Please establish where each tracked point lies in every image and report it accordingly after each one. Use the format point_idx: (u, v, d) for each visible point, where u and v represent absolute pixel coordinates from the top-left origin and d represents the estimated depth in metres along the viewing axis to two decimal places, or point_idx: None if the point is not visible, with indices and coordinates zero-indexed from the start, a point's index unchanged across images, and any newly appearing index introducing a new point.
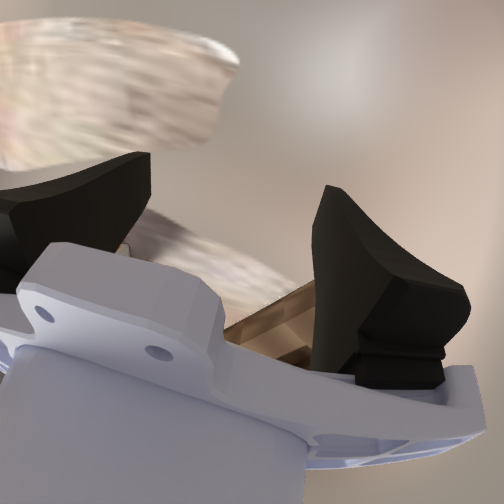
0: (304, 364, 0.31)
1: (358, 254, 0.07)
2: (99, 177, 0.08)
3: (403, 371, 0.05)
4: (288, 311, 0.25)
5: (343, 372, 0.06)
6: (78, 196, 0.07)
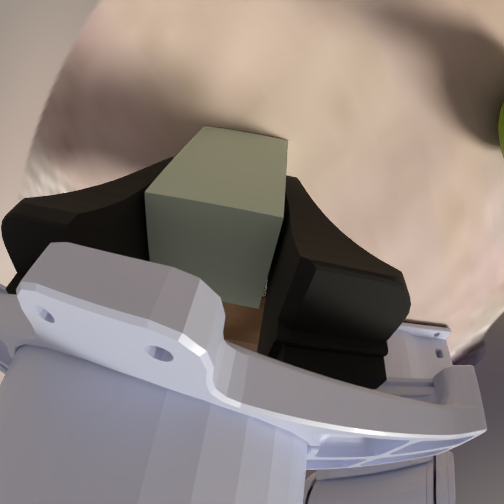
0: None
1: (289, 239, 0.07)
2: (149, 184, 0.08)
3: (332, 365, 0.05)
4: None
5: None
6: (131, 205, 0.07)
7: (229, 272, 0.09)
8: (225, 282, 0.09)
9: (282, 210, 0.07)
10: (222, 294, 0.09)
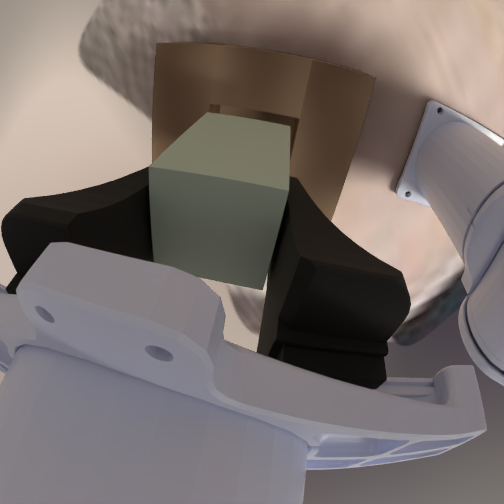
0: None
1: (289, 239, 0.07)
2: None
3: (332, 366, 0.05)
4: None
5: None
6: (131, 205, 0.07)
7: (233, 250, 0.08)
8: (229, 261, 0.09)
9: (287, 184, 0.07)
10: (225, 275, 0.09)
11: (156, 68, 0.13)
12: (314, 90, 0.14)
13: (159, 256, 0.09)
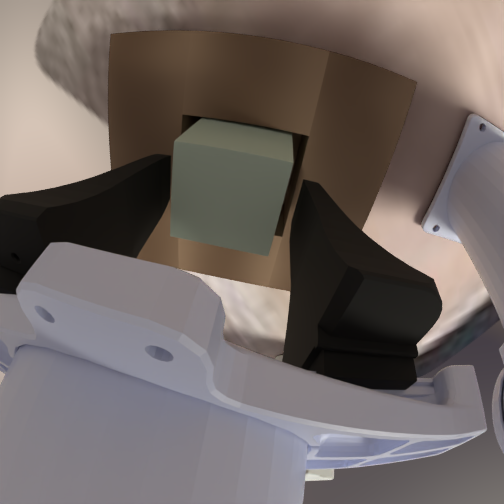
0: None
1: (323, 246, 0.07)
2: (124, 180, 0.08)
3: (368, 369, 0.05)
4: None
5: (307, 368, 0.06)
6: (104, 200, 0.07)
7: (243, 217, 0.10)
8: (239, 228, 0.10)
9: (292, 159, 0.09)
10: (235, 241, 0.10)
11: (110, 67, 0.09)
12: (331, 95, 0.09)
13: (176, 225, 0.10)
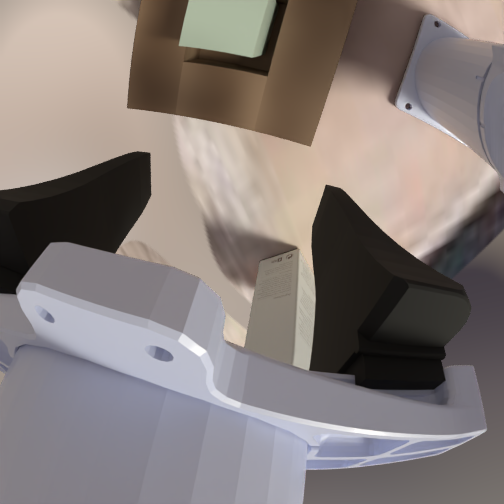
0: None
1: (358, 254, 0.07)
2: (99, 177, 0.08)
3: (403, 371, 0.05)
4: None
5: (343, 372, 0.06)
6: (78, 196, 0.07)
7: (235, 26, 0.10)
8: (231, 35, 0.11)
9: None
10: (227, 46, 0.11)
11: None
12: None
13: (184, 36, 0.11)
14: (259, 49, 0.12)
